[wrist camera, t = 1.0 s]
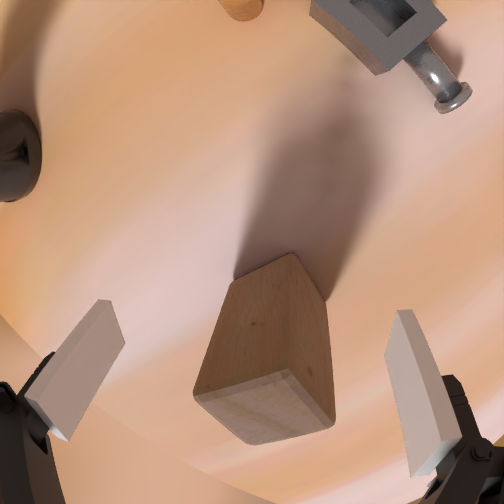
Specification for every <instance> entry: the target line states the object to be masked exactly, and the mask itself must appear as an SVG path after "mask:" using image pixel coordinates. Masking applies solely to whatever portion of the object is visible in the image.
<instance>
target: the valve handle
mask: <svg viewBox="0 0 504 504" xmlns="http://www.w3.org/2000/svg"><path fill="white" fill-rule="evenodd" d="M218 1H219V2H220V4H221V5H222V6H223V7H224V9H225V10H226V11H227V13H228V14H229V15H230V16H231V17H232V18H233V19H235V20H238V21H249V20H252V19H254V18H256V17H257V16H258V15H259V14H260V13H261V11H262V1H261V0H218Z"/></svg>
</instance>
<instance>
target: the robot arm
mask: <svg viewBox="0 0 504 504" xmlns="http://www.w3.org/2000/svg"><path fill="white" fill-rule="evenodd" d="M40 167H41V148H40V142H39V137H38V134H37V131H36V129H35V126H34V125H33V123H32V121H31V120H30V118H29V117H28V116H27V115H26V114H24V113H23V112H21V111H19V110H9V111H4V112H1V113H0V202H15V201H17V200H19V199H21V198H23V197H25V196H27V195H28V194H29V193H30V192H31V191H32V190H33V189H34V187H35V185H36V183H37V180H38V177H39V173H40ZM124 345H125V340H124V338H123V335H122V332H121V329H120V327H119V324H118V321H117V318H116V315H115V312H114V309H113V306H112V303H111V301H109V300H99V299H98V300H97V302H96V303H95V304H94V305H93V306H92V308H91V309H90V310H89V311H88V312H87V314H86V315H85V316H84V317H83V319H82V320H81V321H80V322H79V323H78V325H77V326H76V327H75V328H74V330H73V331H72V332H71V333H70V335H69V336H68V337H67V338H66V340H65V341H64V342H63V344H62V345H61V346H60V347H59V349H58V350H57V351H56V352H52V353H50V354H49V355H48V356H46V357H45V358H44V359H43V361H42V362H41V363H40V364H39V367H38V368H36V370H35V371H34V374H32V375H31V377H30V378H29V379H28V381H27V382H26V383H25V385H24V386H23V387H22V389H21V390H20V392H19V393H18V394H17V395H16V394H15V392H14V391H13V390H12V388H11V387H10V385H9V384H8V383H7V382H0V504H66V503H65V500H64V496H63V493H62V489H61V486H60V482H59V478H58V474H57V471H56V466H55V462H54V457H53V452H52V448H51V443H50V438H49V436H48V434H47V432H48V430H49V429H50V430H51V431H52V433H53V434H54V435H55V436H56V437H58V438H60V439H63V440H65V441H68V442H69V441H70V439H71V437H72V435H73V433H74V431H75V429H76V428H77V426H78V424H79V422H80V420H81V419H82V417H83V415H84V413H85V411H86V410H87V408H88V406H89V404H90V403H91V401H92V399H93V397H94V396H95V394H96V392H97V390H98V389H99V387H100V385H101V383H102V382H103V380H104V378H105V377H106V375H107V373H108V371H109V370H110V368H111V366H112V365H113V363H114V361H115V360H116V358H117V356H118V355H119V353H120V351H121V350H122V348H123V346H124ZM384 357H385V360H386V364H387V368H388V372H389V376H390V380H391V384H392V388H393V392H394V396H395V400H396V405H397V409H398V413H399V418H400V423H401V428H402V432H403V437H404V443H405V448H406V453H407V459H408V465H409V471H410V477H411V478H414V477H419V476H424V475H429V474H430V473H431V472H432V471H433V470H434V469H435V468H436V472H437V476H436V477H435V478H434V479H433V480H432V481H431V482H430V483H429V484H428V485H427V487H429V489H428V490H427V492H426V493H425V495H424V497H423V498H422V500H421V501H420V503H419V504H504V447H497V446H493V445H492V443H491V442H490V441H489V440H487V439H486V438H482V437H481V435H480V432H479V429H478V427H477V424H476V421H475V418H474V415H473V413H472V410H471V407H470V405H469V404H468V400H467V397H466V396H465V392H464V390H463V387H462V385H461V383H460V382H459V381H458V380H457V379H456V378H455V376H454V375H453V374H452V375H445V376H441V375H440V372H439V370H438V367H437V365H436V362H435V360H434V357H433V355H432V352H431V350H430V348H429V345H428V343H427V341H426V338H425V336H424V334H423V332H422V329H421V327H420V325H419V323H418V320H417V318H416V316H415V314H414V312H413V310H397V311H396V315H395V319H394V323H393V327H392V330H391V334H390V338H389V341H388V345H387V348H386V351H385V355H384Z"/></svg>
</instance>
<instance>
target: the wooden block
mask: <svg viewBox="0 0 504 504" xmlns="http://www.w3.org/2000/svg"><path fill="white" fill-rule="evenodd" d="M193 397H194V399H195V401H196V402H197V403H198V404H199V405H200V406H202V407H203V408H204V409H205V410H206V411H207V412H208V413H209V414H211V415H212V416H213V417H214V418H215V419H216V420H218V421H219V422H220V423H221V424H222V425H224V426H225V427H226V428H227V429H228V430H230V431H231V432H232V433H233V434H234V435H236V436H237V437H238V438H239V439H241V440H242V441H243V442H245V443H246V444H249V445H260V444H265V443H270V442H275V441H280V440H285V439H289V438H294V437H298V436H302V435H306V434H310V433H314V432H318V431H321V430H325V429H328V428H330V427H332V426H333V425H334V424H335V421H336V412H335V396H334V382H333V369H332V358H331V347H330V337H329V327H328V318H327V309H326V303H325V302H324V300H323V298H322V297H321V295H320V293H319V292H318V290H317V288H316V287H315V285H314V283H313V282H312V280H311V278H310V277H309V275H308V273H307V272H306V270H305V269H304V267H303V265H302V264H301V262H300V260H299V259H298V257H296V256H295V255H294V254H293V253H290V254H287V255H285V256H283V257H281V258H279V259H277V260H275V261H273V262H271V263H269V264H267V265H265V266H263V267H261V268H259V269H257V270H255V271H253V272H250V273H248V274H246V275H244V276H242V277H240V278H238V279H236V280H234V281H233V282H232V283H231V284H230V286H229V289H228V292H227V294H226V297H225V300H224V303H223V306H222V309H221V312H220V314H219V317H218V320H217V323H216V326H215V329H214V332H213V334H212V337H211V340H210V343H209V346H208V349H207V352H206V355H205V357H204V360H203V363H202V366H201V369H200V372H199V375H198V378H197V381H196V383H195V386H194V389H193Z"/></svg>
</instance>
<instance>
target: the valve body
mask: <svg viewBox="0 0 504 504" xmlns="http://www.w3.org/2000/svg"><path fill="white" fill-rule="evenodd" d="M309 15H310V16H311V17H312V18H314V19H315V20H316V21H317V22H319V23H320V24H321V25H322V26H323V27H324V28H326V29H327V30H328V31H329V32H330V33H331V34H333V35H334V36H335V37H336V38H337V39H338V40H339V41H340V42H341V43H343V44H344V45H345V46H346V47H347V48H348V49H349V50H350V51H351V52H352V53H353V54H354V55H355V56H356V57H357V58H358V59H359V60H360V61H361V62H362V63H363V64H364V65H365V66H366V67H367V68H368V69H369V70H370V71H371V72H372V73H373V74H374V75H375V76H376V75H379V74H382V73H385V72H387V71H390V70H391V69H392V68H393V67H394V66H395V65H396V64H398V63H399V62H400V61H401V60H402V59H404V61H405V62H406V63H407V64H408V65H409V66H410V67H411V68H412V70H413V71H414V72H415V73H416V74H417V75H418V77H419V78H420V79H421V80H422V81H423V83H424V84H425V85H426V86H427V87H428V89H429V90H430V91H431V92H432V94H433V95H434V96H435V98H436V99H437V100H436V101H435V103H434V107H435V108H436V109H437V111H438V112H439V113H441V114H444V113H448V112H451V111H453V110H455V109H456V108H458V107H459V106H461V105H462V104H463V103H464V102H466V101H467V100H468V98H469V97H470V96H471V94H472V89H471V87H470V86H469V84H468V83H467V82H461V83H460V82H459V81H458V80H457V78H456V77H455V76H454V74H453V73H452V72H451V70H450V69H449V68H448V67H447V65H446V64H445V63H444V62H443V60H442V59H441V58H440V57H439V55H438V54H437V53H436V52H435V51H434V49H433V48H432V47H431V46H430V45H429V44H428V43H427V41H426V40H425V39H426V38H427V37H428V36H429V35H431V34H432V33H433V32H434V31H435V30H436V29H438V28H439V27H440V26H441V25H442V24H443V23H445V22H446V21H447V19H446V18H445V17H444V16H443V14H442V13H441V12H440V11H439V10H438V9H437V8H436V7H435V6H434V5H433V4H432V3H431V2H430V0H312V1H311V7H310V13H309Z"/></svg>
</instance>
